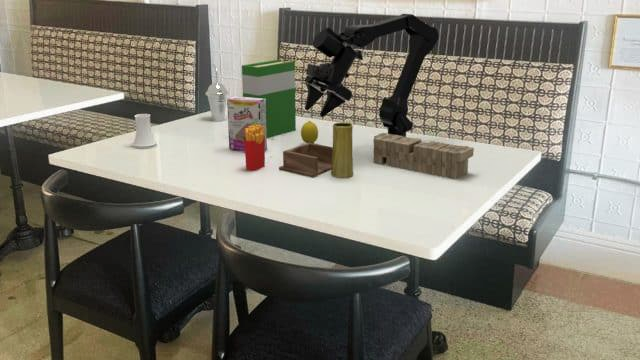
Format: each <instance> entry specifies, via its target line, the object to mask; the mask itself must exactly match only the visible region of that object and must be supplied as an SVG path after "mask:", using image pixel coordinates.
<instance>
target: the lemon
mask: <svg viewBox="0 0 640 360" xmlns="http://www.w3.org/2000/svg"><path fill="white" fill-rule="evenodd" d="M300 136H301V139H302V141H303V142H304V144H306V143H313V144H315V142H316V141H317V140H318V138H319V129H318V126H317V125H316V123H315V122H313V121H311V120H307V122H305V123H303V125H302V127H301V130H300Z"/></svg>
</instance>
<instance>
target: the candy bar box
mask: <svg viewBox="0 0 640 360" xmlns="http://www.w3.org/2000/svg"><path fill="white" fill-rule="evenodd" d="M226 105H227V106H226V107H227V126H228V148H229V150H230V151H238V152H245V147H244V139H245V138H246V136H245V129H246V128H249V127H248V126H251V125H252V126H255V125H260V126H264V127H265V129H264V135H265V151H266V150H267V149H268V141H267V140H268V138H267V132H266V99H262V98H249V97H243V96H238V95H237V96H236V95H234V96H231V97H228V98H226Z"/></svg>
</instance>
